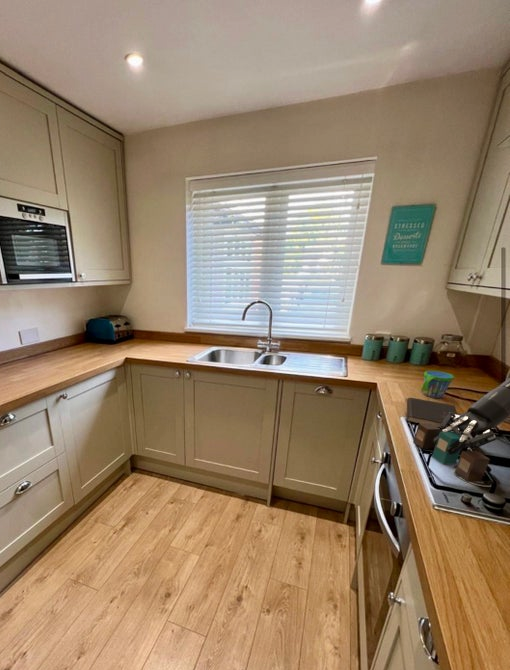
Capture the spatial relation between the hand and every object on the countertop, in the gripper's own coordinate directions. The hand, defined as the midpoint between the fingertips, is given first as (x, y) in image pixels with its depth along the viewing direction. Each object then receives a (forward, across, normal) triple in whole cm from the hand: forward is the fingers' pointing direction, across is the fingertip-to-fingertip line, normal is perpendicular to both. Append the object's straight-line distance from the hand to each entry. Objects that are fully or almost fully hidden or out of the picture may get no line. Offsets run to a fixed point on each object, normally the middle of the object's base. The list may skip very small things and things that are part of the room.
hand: (441, 447), depth 92 cm
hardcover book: (-14, +32, -22) cm, 41 cm away
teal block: (+2, 0, -4) cm, 4 cm away
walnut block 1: (+2, +8, -5) cm, 10 cm away
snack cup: (-26, +52, -35) cm, 68 cm away
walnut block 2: (+3, -8, -5) cm, 10 cm away
